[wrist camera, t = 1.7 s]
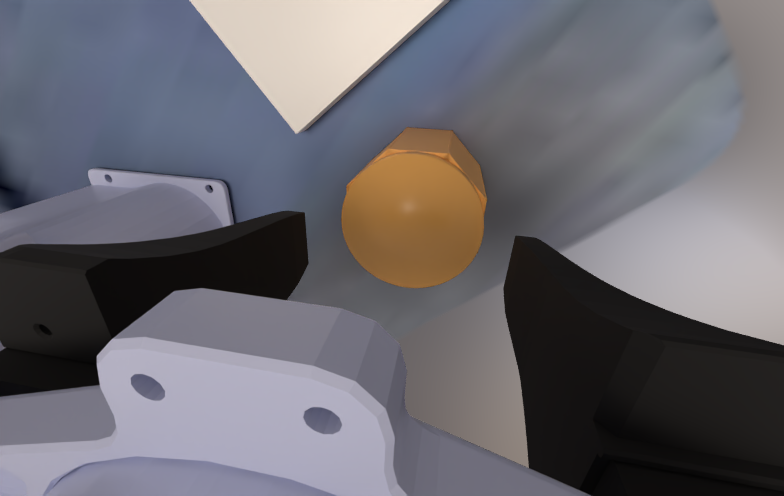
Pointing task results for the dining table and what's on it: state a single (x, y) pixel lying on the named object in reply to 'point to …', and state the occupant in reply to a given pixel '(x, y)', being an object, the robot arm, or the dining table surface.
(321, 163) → the dining table surface
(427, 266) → the cap
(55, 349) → the robot arm
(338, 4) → the plate
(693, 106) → the dining table surface
